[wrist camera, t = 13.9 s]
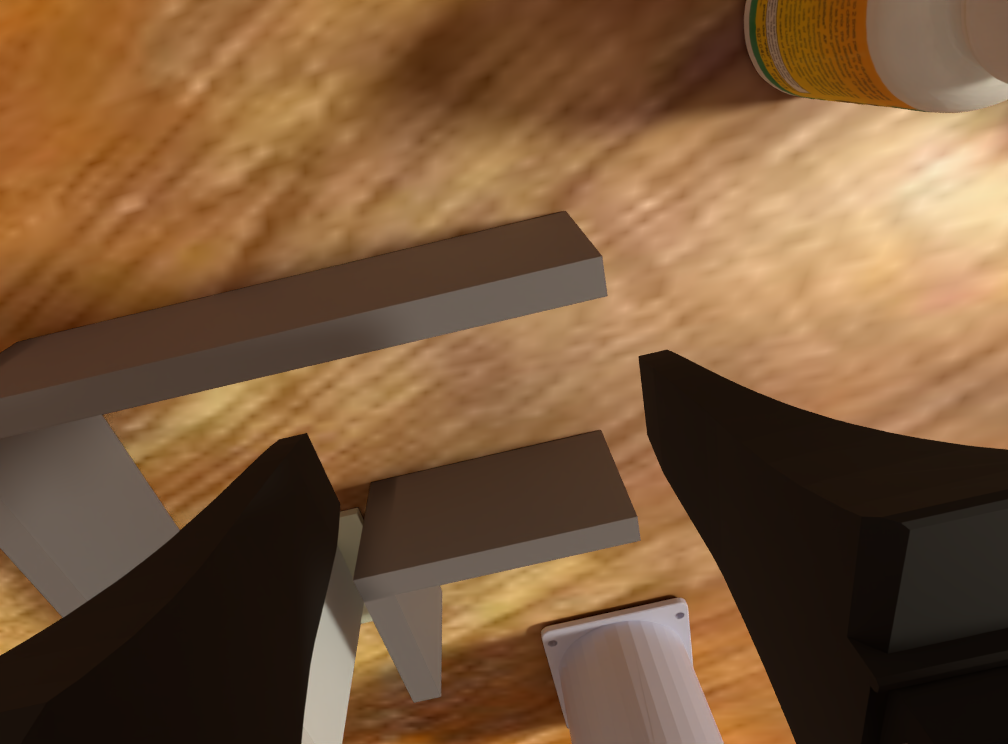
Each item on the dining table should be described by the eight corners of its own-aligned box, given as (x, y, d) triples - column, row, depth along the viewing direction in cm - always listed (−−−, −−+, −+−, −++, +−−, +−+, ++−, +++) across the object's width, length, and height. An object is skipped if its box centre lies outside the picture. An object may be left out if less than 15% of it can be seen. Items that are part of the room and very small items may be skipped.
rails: (620, 552, 29) (655, 650, 24) (227, 640, 29) (184, 752, 25) (565, 211, 21) (601, 256, 16) (16, 342, 21) (-111, 424, 16)
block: (364, 601, 28) (336, 777, 21) (286, 617, 29) (233, 798, 21) (337, 544, 27) (297, 717, 20) (253, 561, 27) (184, 740, 20)
